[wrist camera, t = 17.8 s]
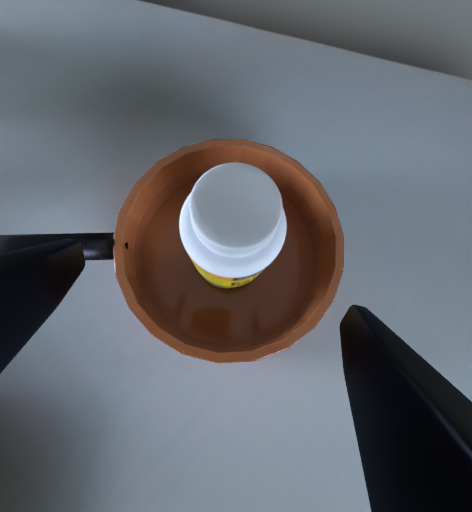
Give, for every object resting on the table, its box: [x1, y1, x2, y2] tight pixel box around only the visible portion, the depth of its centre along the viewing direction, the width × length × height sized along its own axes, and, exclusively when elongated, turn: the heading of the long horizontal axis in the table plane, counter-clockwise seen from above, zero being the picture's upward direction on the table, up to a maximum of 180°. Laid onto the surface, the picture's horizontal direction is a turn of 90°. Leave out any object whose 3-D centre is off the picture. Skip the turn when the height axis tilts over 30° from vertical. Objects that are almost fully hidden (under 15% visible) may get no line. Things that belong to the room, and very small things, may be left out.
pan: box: [113, 139, 344, 363], centre depth 19 cm, size 15×15×5 cm
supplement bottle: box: [179, 162, 287, 289], centre depth 15 cm, size 6×6×10 cm
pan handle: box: [0, 233, 129, 260], centre depth 16 cm, size 13×2×2 cm, turn 92°
